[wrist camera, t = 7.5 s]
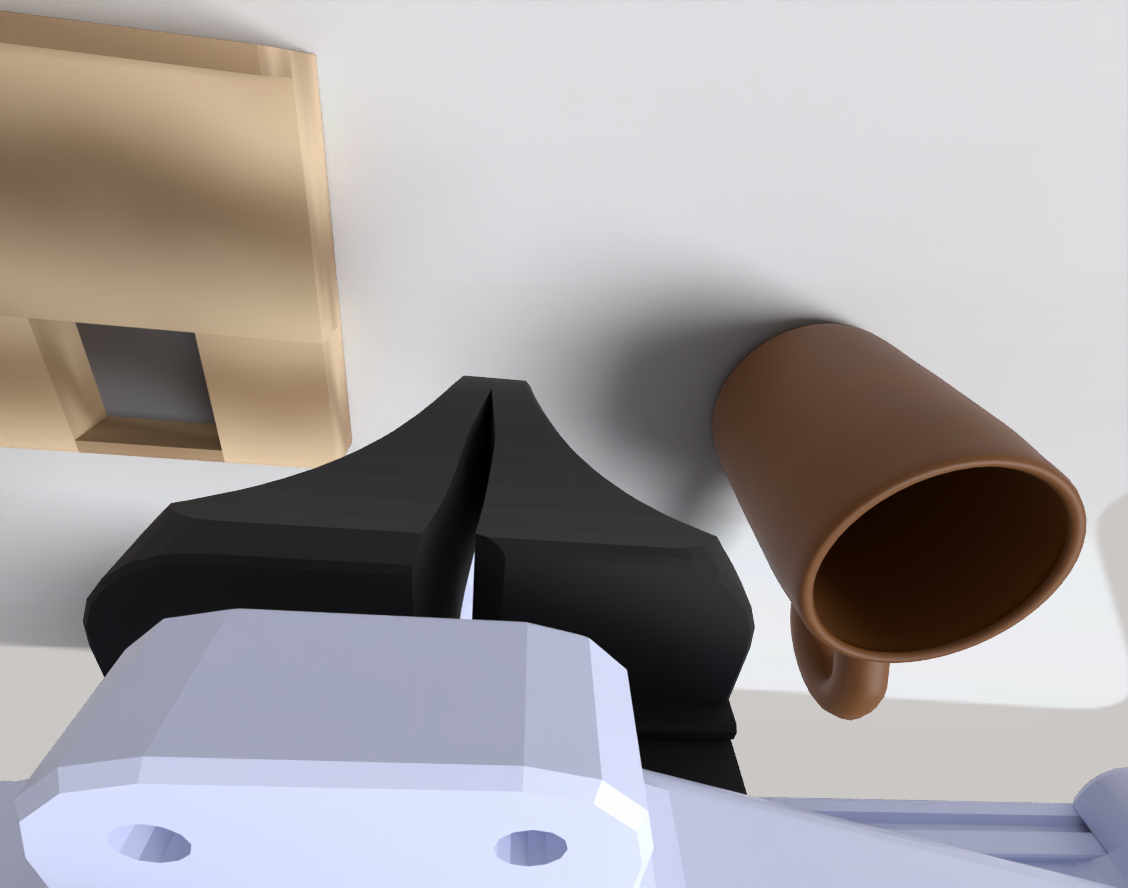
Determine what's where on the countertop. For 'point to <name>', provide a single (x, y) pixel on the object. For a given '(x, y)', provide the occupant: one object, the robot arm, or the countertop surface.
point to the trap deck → (165, 248)
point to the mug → (887, 507)
